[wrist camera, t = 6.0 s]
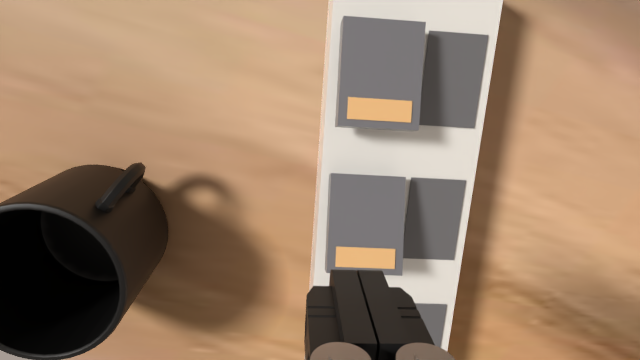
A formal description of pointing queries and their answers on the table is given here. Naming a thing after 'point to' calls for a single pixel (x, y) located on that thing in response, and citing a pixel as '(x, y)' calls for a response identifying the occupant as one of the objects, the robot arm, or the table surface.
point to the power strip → (418, 145)
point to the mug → (75, 259)
